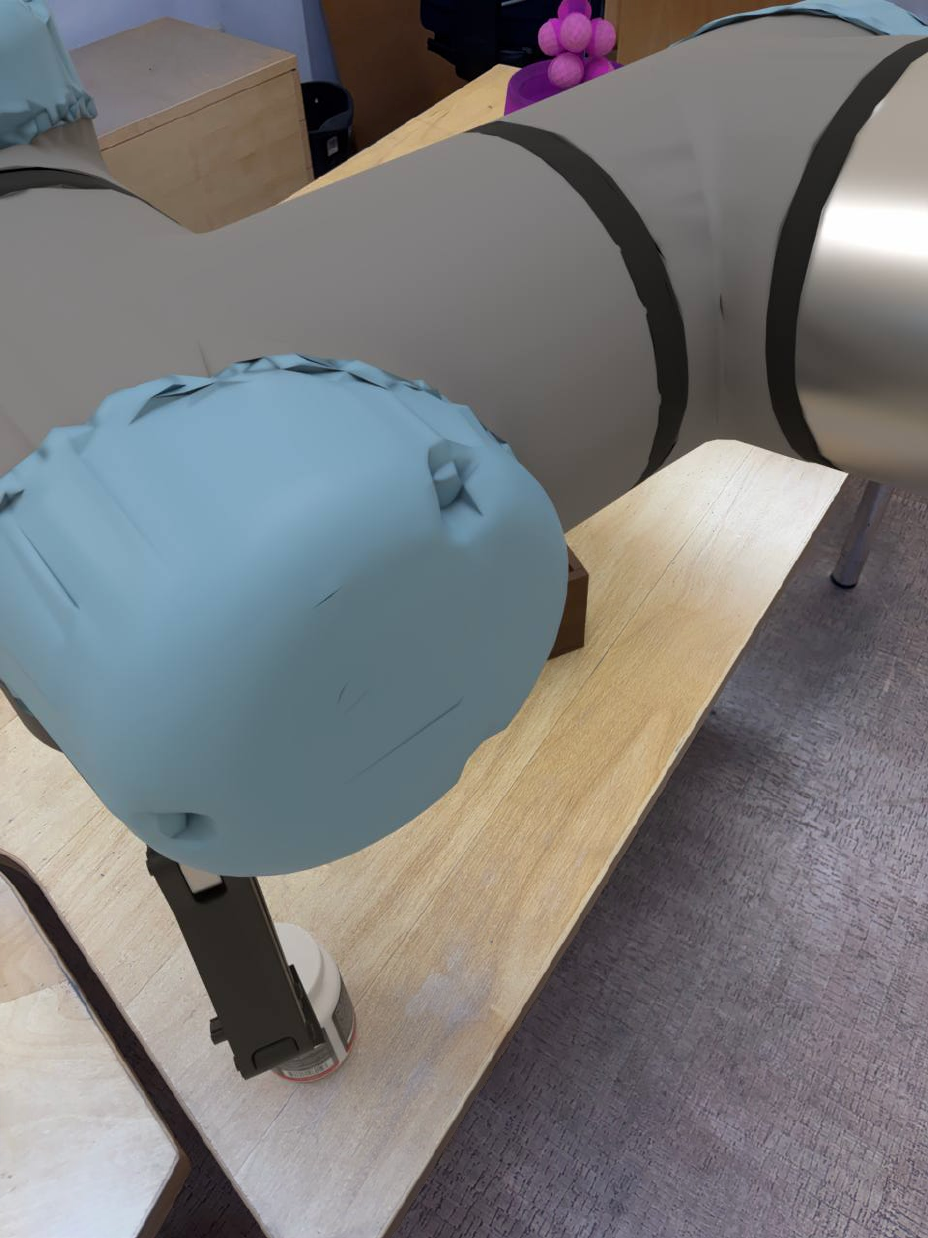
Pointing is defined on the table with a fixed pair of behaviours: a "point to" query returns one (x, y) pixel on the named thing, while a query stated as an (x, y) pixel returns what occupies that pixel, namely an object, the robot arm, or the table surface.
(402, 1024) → the table surface
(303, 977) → the pill bottle
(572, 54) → the purple potted plant
